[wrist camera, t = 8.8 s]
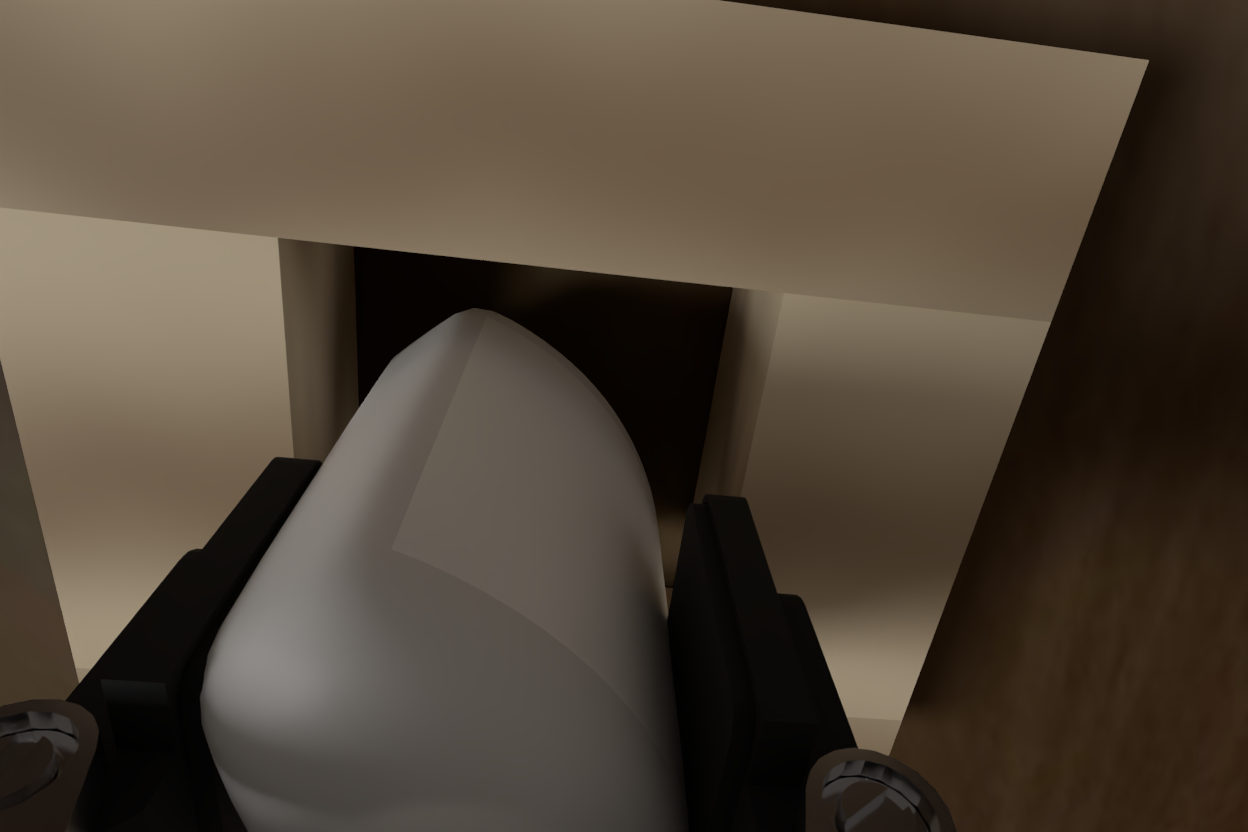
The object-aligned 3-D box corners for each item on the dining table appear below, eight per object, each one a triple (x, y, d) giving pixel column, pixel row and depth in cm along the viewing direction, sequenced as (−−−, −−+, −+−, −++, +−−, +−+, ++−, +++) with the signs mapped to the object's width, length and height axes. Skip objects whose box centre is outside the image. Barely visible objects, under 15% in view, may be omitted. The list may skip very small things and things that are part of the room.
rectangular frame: (76, -72, 12) (-115, -117, 9) (1013, 57, 13) (1148, 60, 10) (194, 672, 18) (108, 804, 15) (813, 712, 19) (856, 842, 16)
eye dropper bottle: (636, 283, 13) (828, 1594, 2) (660, 557, 15) (802, 1804, 4) (376, 308, 13) (-798, 1707, 2) (442, 577, 15) (63, 1852, 5)
